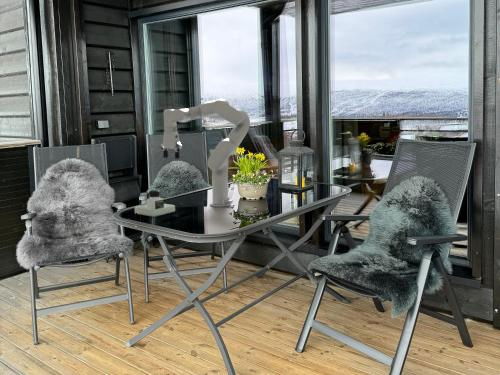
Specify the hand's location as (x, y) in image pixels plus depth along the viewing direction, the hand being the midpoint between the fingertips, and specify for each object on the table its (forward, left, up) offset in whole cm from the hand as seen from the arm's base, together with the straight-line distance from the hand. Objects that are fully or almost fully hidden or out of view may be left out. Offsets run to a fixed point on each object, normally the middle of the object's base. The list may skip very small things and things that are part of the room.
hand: (171, 158), depth 316 cm
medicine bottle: (-10, +25, -28) cm, 39 cm away
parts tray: (-10, +25, -28) cm, 39 cm away
